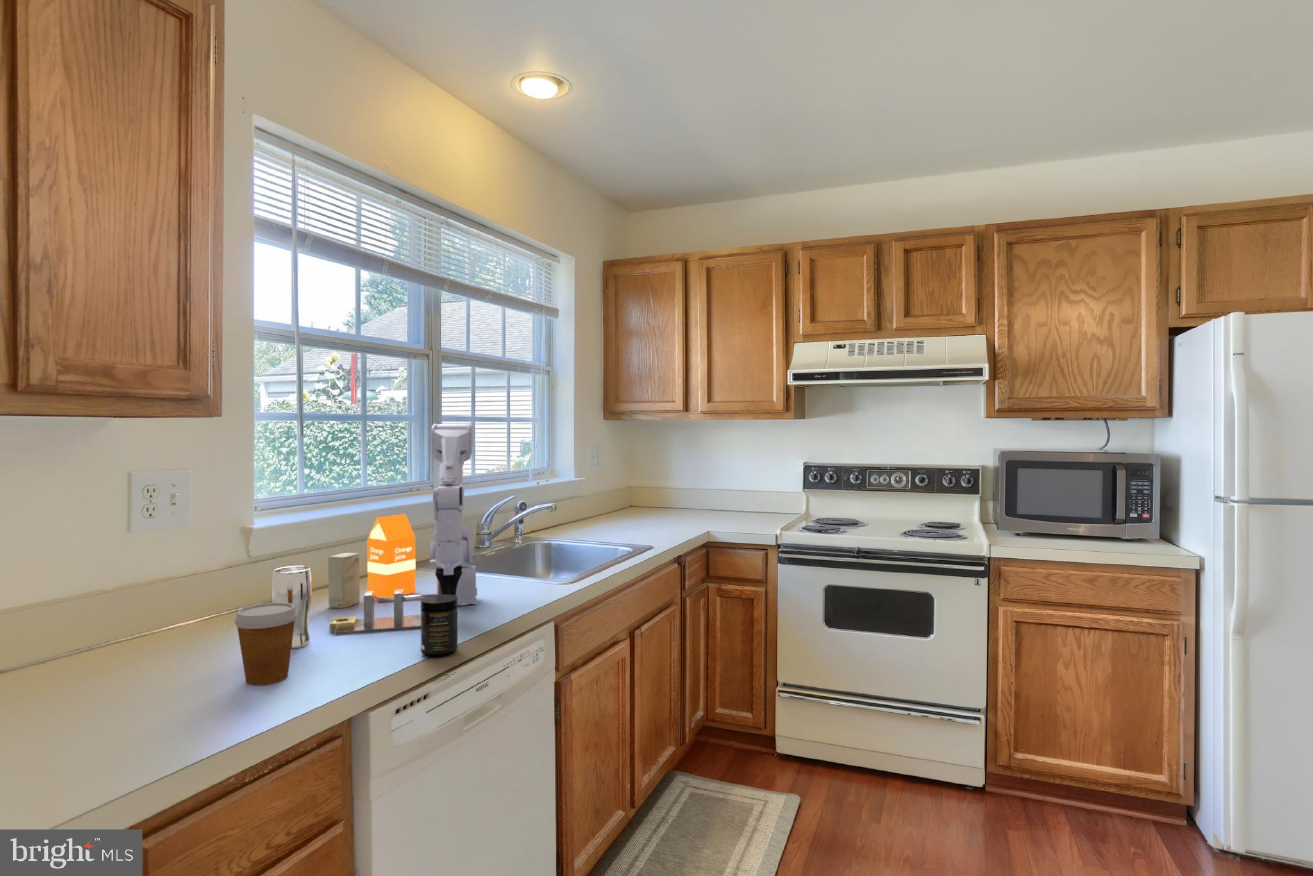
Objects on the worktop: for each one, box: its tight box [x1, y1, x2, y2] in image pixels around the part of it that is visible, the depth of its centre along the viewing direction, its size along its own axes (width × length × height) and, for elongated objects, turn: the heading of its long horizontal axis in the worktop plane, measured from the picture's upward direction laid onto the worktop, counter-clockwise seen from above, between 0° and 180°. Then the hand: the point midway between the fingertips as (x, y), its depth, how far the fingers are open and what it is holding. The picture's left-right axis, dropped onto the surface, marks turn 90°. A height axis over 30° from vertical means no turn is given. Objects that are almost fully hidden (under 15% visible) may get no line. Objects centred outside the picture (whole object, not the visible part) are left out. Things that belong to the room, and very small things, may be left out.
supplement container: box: [420, 594, 459, 659], centre depth 132 cm, size 7×7×10 cm
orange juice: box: [366, 513, 416, 598], centre depth 178 cm, size 8×9×20 cm
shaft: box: [377, 583, 442, 604], centre depth 152 cm, size 15×2×6 cm, turn 106°
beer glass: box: [271, 565, 313, 650], centre depth 137 cm, size 7×7×15 cm
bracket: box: [334, 589, 421, 636], centre depth 150 cm, size 18×9×7 cm, turn 106°
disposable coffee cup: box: [233, 602, 298, 686], centre depth 119 cm, size 10×10×12 cm
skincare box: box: [327, 552, 361, 609], centre depth 167 cm, size 6×4×12 cm
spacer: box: [329, 615, 358, 631], centre depth 148 cm, size 1×5×5 cm
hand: (449, 601), depth 154 cm, fingers closed on shaft, 2 cm apart
